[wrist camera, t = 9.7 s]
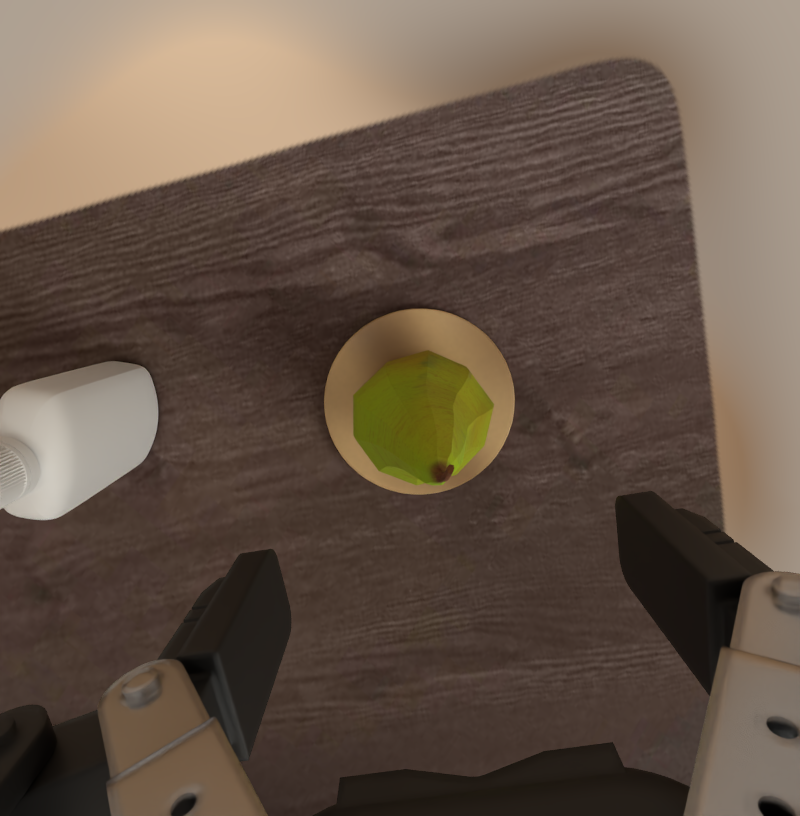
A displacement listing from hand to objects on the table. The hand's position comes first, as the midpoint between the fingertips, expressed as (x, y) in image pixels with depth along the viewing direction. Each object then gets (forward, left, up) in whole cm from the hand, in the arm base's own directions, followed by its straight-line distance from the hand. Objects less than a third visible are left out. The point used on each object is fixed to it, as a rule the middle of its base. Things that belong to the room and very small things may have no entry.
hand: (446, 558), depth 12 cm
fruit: (0, 0, -16) cm, 16 cm away
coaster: (0, 0, -16) cm, 16 cm away
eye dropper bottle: (+12, -10, -16) cm, 23 cm away
